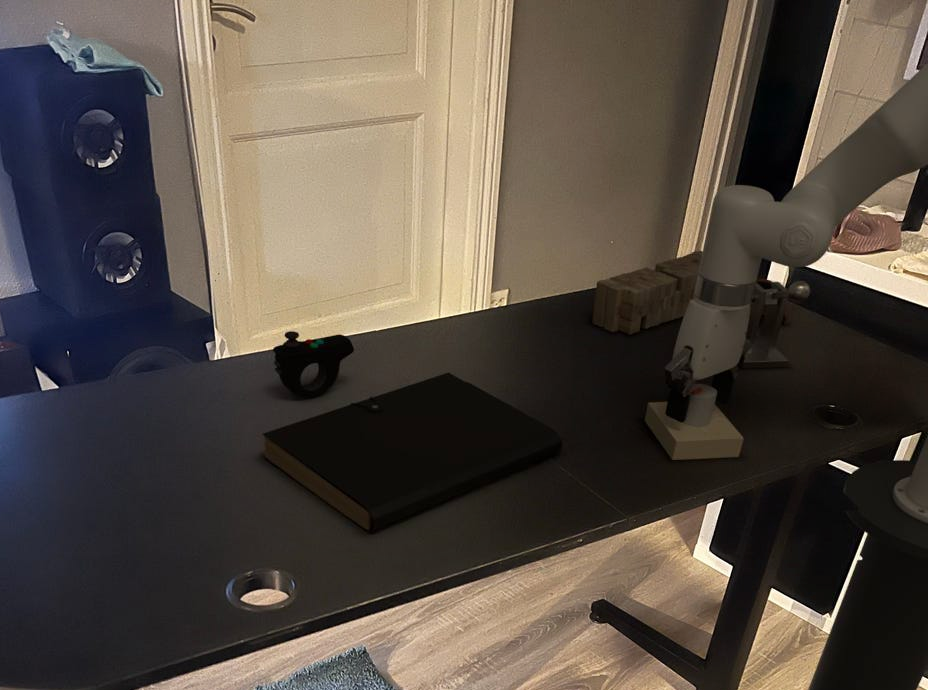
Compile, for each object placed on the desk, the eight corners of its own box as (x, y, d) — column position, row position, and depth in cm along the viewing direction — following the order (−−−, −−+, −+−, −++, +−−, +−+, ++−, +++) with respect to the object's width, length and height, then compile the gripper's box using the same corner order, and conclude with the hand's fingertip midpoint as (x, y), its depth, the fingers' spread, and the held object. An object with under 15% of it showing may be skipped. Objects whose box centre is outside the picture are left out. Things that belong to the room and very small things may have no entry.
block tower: (622, 342, 170) (724, 302, 185) (629, 294, 165) (734, 257, 179) (590, 327, 175) (692, 290, 189) (595, 280, 169) (700, 246, 184)
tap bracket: (786, 367, 163) (806, 297, 155) (742, 368, 161) (760, 298, 154) (762, 343, 170) (779, 275, 163) (719, 344, 169) (735, 276, 162)
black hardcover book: (447, 369, 146) (564, 432, 133) (446, 394, 149) (560, 459, 135) (261, 430, 128) (373, 510, 115) (263, 458, 131) (373, 539, 118)
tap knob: (691, 409, 142) (698, 378, 139) (716, 420, 139) (724, 389, 136) (673, 417, 139) (679, 386, 136) (697, 429, 137) (704, 397, 134)
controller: (272, 396, 146) (267, 331, 139) (344, 380, 151) (342, 317, 145) (285, 408, 143) (281, 342, 136) (358, 390, 148) (357, 326, 142)
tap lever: (813, 301, 149) (814, 279, 148) (794, 302, 149) (795, 279, 148) (771, 308, 162) (772, 288, 161) (753, 308, 161) (754, 288, 160)
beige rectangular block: (739, 457, 137) (744, 437, 135) (672, 460, 136) (676, 440, 134) (707, 418, 147) (711, 399, 145) (644, 420, 145) (648, 401, 143)
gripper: (741, 269, 134) (714, 385, 145) (658, 293, 125) (636, 415, 136) (787, 285, 130) (755, 404, 141) (704, 311, 121) (677, 436, 132)
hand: (697, 409), depth 138 cm, fingers open, 9 cm apart
